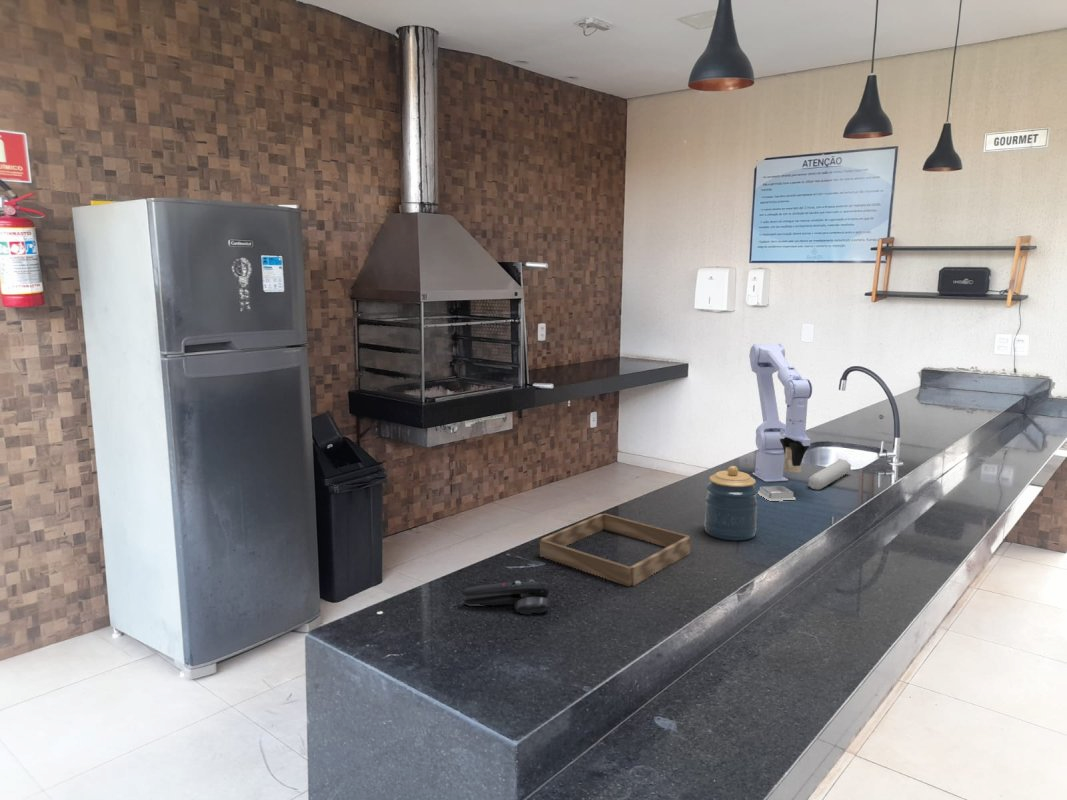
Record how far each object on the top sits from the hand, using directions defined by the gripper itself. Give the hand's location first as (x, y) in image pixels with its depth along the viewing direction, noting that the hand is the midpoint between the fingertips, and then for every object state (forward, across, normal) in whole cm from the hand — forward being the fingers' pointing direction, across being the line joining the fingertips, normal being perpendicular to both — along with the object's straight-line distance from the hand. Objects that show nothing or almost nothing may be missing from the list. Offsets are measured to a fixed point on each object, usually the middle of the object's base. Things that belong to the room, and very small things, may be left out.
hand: (793, 463), depth 222 cm
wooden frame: (+9, +40, -66) cm, 78 cm away
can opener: (+9, +63, -95) cm, 114 cm away
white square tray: (+9, +4, -7) cm, 12 cm away
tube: (+9, -9, +18) cm, 22 cm away
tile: (+9, +4, -7) cm, 12 cm away
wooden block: (+2, 0, 0) cm, 2 cm away
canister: (+9, +30, -33) cm, 46 cm away
